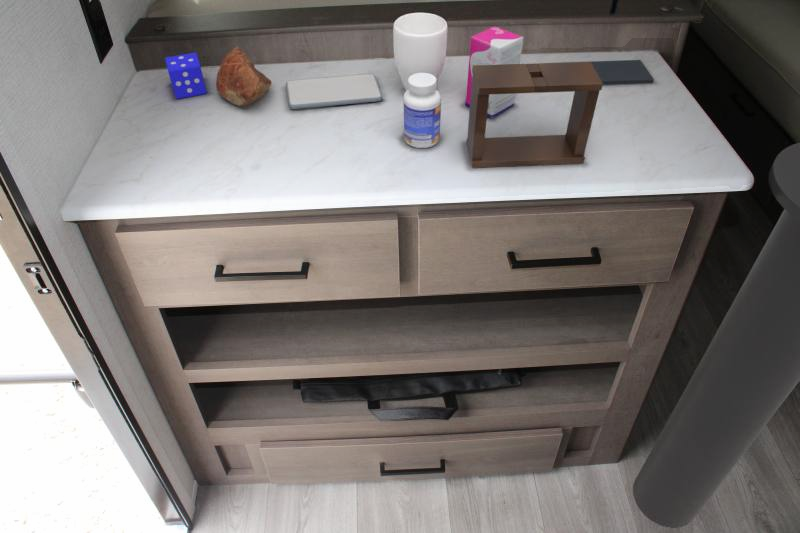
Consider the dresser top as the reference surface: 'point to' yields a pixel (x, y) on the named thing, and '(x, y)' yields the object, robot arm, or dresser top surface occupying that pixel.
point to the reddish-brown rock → (240, 79)
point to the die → (186, 75)
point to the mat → (622, 72)
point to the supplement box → (494, 62)
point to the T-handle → (613, 7)
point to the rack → (532, 81)
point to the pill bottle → (422, 111)
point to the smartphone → (333, 91)
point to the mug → (419, 45)
